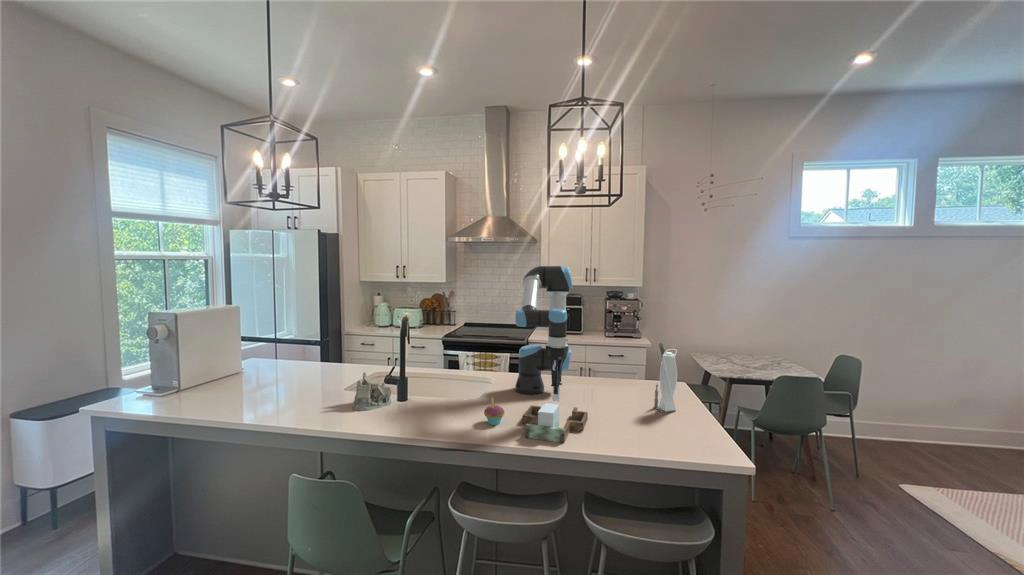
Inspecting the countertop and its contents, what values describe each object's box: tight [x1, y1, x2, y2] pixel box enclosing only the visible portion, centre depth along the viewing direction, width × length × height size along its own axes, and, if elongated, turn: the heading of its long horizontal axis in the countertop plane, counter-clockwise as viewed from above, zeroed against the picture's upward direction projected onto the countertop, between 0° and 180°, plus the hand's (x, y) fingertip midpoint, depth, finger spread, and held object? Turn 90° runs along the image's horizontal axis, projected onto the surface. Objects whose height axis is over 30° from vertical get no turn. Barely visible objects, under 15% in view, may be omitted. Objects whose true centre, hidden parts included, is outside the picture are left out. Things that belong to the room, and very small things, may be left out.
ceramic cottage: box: [351, 371, 392, 412], centre depth 199 cm, size 16×16×15 cm
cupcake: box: [483, 396, 505, 426], centre depth 179 cm, size 9×8×12 cm
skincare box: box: [538, 402, 560, 428], centre depth 169 cm, size 10×6×10 cm, turn 161°
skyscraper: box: [653, 348, 678, 413], centre depth 196 cm, size 8×8×28 cm
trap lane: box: [522, 405, 589, 444], centre depth 177 cm, size 25×30×5 cm
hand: (556, 400), depth 182 cm, fingers closed
